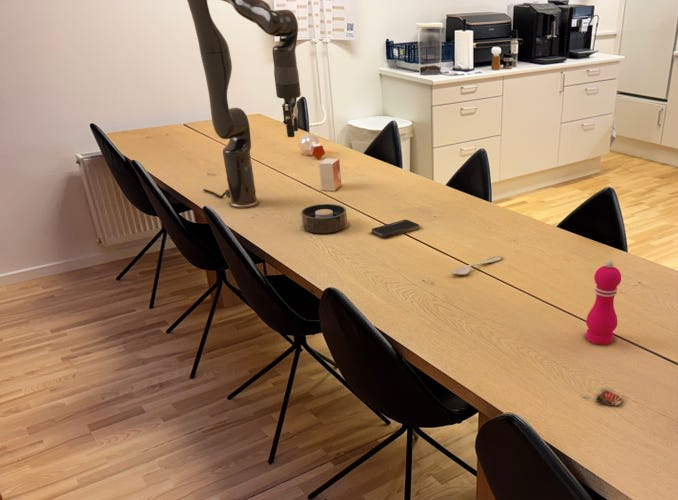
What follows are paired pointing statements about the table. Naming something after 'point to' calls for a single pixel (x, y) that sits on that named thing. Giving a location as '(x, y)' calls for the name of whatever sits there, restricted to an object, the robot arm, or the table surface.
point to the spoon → (467, 268)
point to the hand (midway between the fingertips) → (293, 133)
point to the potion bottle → (311, 146)
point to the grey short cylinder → (324, 213)
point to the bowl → (324, 219)
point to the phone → (395, 228)
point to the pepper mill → (603, 305)
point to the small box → (330, 174)
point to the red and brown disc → (609, 398)
